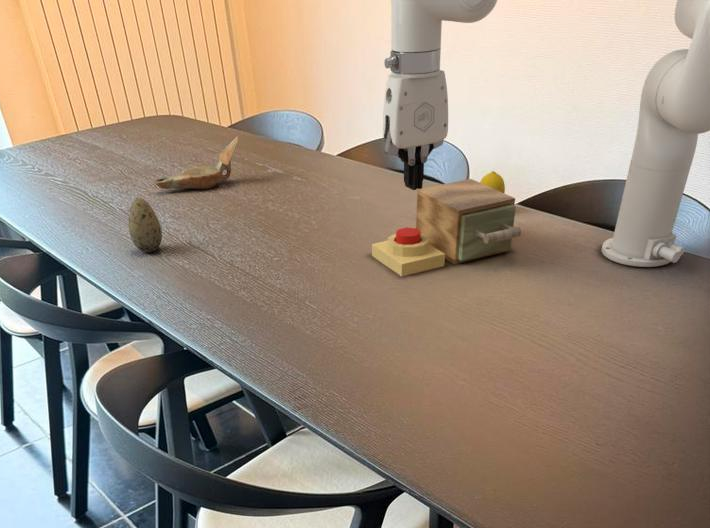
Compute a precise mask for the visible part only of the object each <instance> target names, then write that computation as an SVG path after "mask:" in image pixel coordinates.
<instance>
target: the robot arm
mask: <svg viewBox="0 0 710 528" xmlns="http://www.w3.org/2000/svg"><path fill="white" fill-rule="evenodd" d="M497 2H498V0H390V6H391V7H390V9H391V11H390V13H391V14H390V15H391V17H390V18H391V21H390V22H391V25H390V26H391V28H390V31H391V34H390V35H391V37H390V38H391V39H390V40H391V41H390V42H391V45H390V47H391V49H390V50H391V51H390V56H389V57H386V58H385V59H384V63H383V64H384V68H385V69H389V70H390V72H391V73H390V74H388V75H387V80H386V85H385V90H384V91H385V92H384V100H383V112H382V134H383V135H382V136H383V140H384V142H385V145H384V150H383V151H384V154H386V155H388V156H394V157H398V158H399V159H400V161H401V162H402V163H403V183H404V186H405V187H406V188H408V189H409V190H412V191H417V190H418V189H423V181H424V176H425V164H426V163H427V161H428V157H429V156H430V155H431V153H432V152H433V150H436V149H437V148H439V147H440V146H443V144H444V140H445V139H446V138H447V136H448V133H449V98H448V97H449V96H448V95H449V94H448V85H447V78H446V73H445V71H444V70H442V69H441V55H442V54H441V53H442V52H441V51H442V26H443V25H442V24H443V21H444V22H454V23H464V24H473V23H478V22H479V21H482V20H483V19H485V18H486V17H487V16H488V15H490V13H491V12H492V11H493V10H494V8H495V7H496V5H497ZM674 23H675V26H676V28H677V29H678V31H679V32H680V33H681V34H682V35H683V36H684V37H687V38H689V39H691V41H690V44H689V48H682V49H677V50H673V51H670V52H668V53H666V54H664V56H662V57H660V58H659V59H658V60H657V61H656V62H655V63H654V64H653V66H652V67H651V69H650V70H649V71H648V73H647V76H646V77H645V79H644V83H643V86H642V90H641V95H640V103H639V112H638V121H637V129H636V135H635V140H634V145H633V150H632V153H631V159H630V162H629V166H628V170H627V175H626V180H625V184H624V188H623V193H622V197H621V201H620V207H619V211H618V214H617V219H616V222H615V227H614V231H613V237H610V238H608V239H606V240H605V241H603V243H602V246H601V249H600V250H601V253H602V255H603V256H604V257H605V258H606V259H608V260H610V261H612V262H615V263H617V264H621V265H624V266H629V267H635V268H636V267H638V268H654V267H661V266H665V265H668V264H670V263H673V264H676V263H677V262H678V261H679V260H680V258H681V256H683V255H684V253H685V248H684V247H683V246H679V245H676V239H677V234H676V233H673V230H674V226H675V223H676V218H677V217H678V213H679V209H680V205H681V203H682V199H683V195H684V191H685V188H686V184H687V181H688V177H689V174H690V170H691V167H692V164H693V161H694V157H695V153H696V149H697V145H698V138H699V135H700V134H705V133H708V132H710V0H676V3H675V8H674Z"/></svg>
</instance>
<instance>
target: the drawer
mask: <svg viewBox="0 0 710 528" xmlns="http://www.w3.org/2000/svg"><path fill="white" fill-rule="evenodd" d="M516 209H517V206H516V205H515V204H514V205H512V204H511V205H507V206H504V205H502V206H498V207H493V208H489V209H484V210H479V211H475V212H470V213H466V214H462V215H461V226H460V238H459V251H458V259H459V260H460V261H464V260H468V259H472V258H476V257H480V256H485V255H489V254H493V253H497V252H501V251H505V250H508V251H509V250H511V248H512V247H511V246H512V239H513V238H516V237H520V236H521V234H522V228H521V227H520V226H514V224H515V217H516V216H515V215H516Z"/></svg>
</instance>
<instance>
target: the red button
mask: <svg viewBox="0 0 710 528" xmlns="http://www.w3.org/2000/svg"><path fill="white" fill-rule="evenodd" d="M395 234H396V242H397V243H398V244H403V245H413V244H417V243H419V242H420V236H421V232H420V230H418V229H416V227H402V228H399V229H397V230H396V231H395Z"/></svg>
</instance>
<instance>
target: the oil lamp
mask: <svg viewBox="0 0 710 528" xmlns="http://www.w3.org/2000/svg"><path fill="white" fill-rule="evenodd" d="M238 142H239V135H236V136H235V138H234V139H233V140H232V141H231V142H230V143H229V144H228V145H227V146H226V147H225V148H224V149H223V150H222V151H221V152H220V154H219V156H218V160H219V161H218V163H217V165H216V166H209V165H202V166H195V167H190V168H188V169H183V170H182V172H181V173H179V174H176V175H172V176H171V175H167V176H162V177H158V178H157V179H155V180H154V184H155V185H156V186H157V187H159V188H161V189H163V190H172V189H190V190H191V189H192V190H193V189H194V190H208V189H212V188H214V187H215V186H217V185H218V183H219V182H222V181H226V180H228V179H229V178H230V177H231V173H232V158H233V156H234V153H235V151H236V149H237V146H238ZM225 170H226V174H223V173H224V171H225Z"/></svg>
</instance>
